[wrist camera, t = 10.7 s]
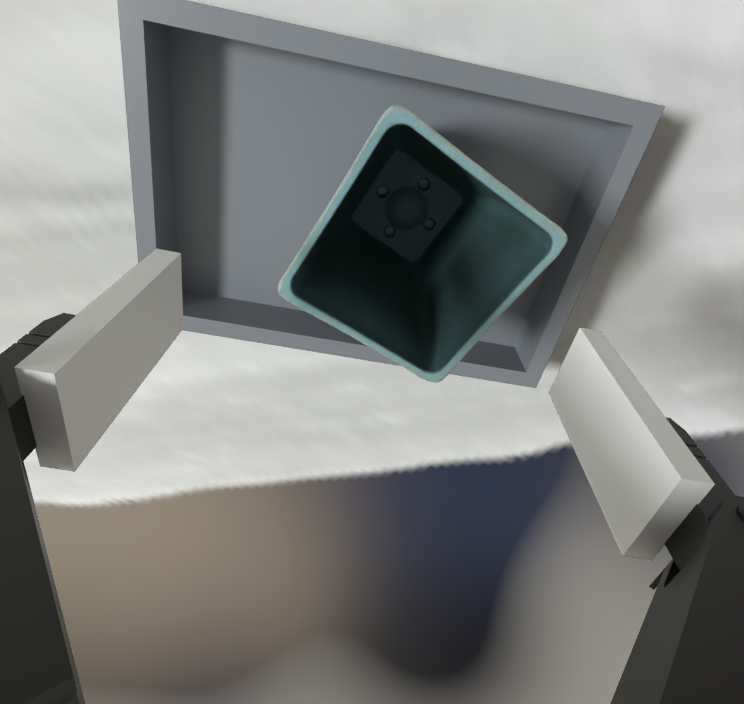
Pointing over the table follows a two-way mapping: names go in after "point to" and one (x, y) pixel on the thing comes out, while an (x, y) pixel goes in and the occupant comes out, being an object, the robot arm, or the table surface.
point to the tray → (346, 165)
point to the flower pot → (419, 249)
